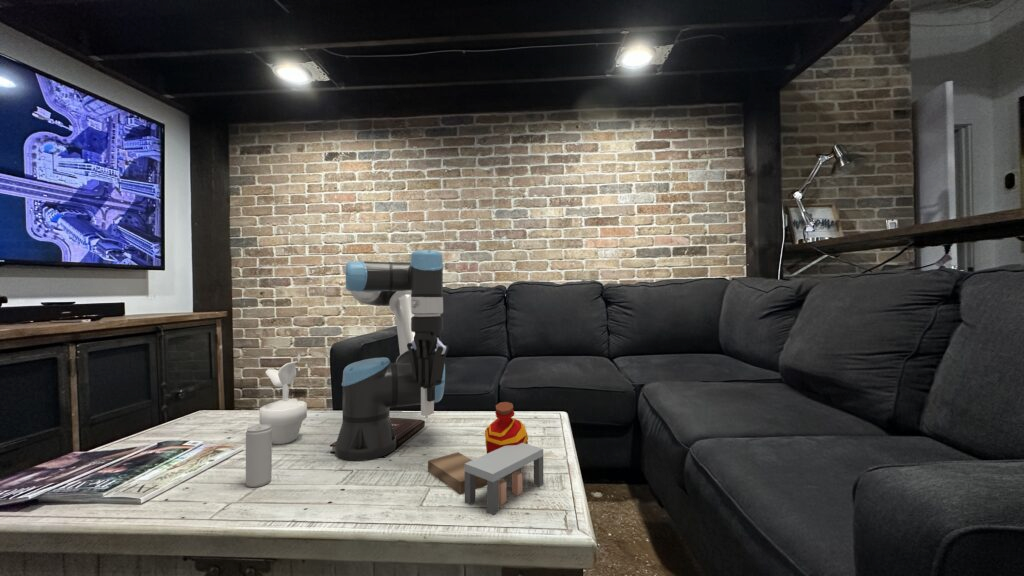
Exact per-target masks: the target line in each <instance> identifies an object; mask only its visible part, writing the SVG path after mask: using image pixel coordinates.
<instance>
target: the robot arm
mask: <svg viewBox="0 0 1024 576" xmlns="http://www.w3.org/2000/svg"><path fill="white" fill-rule="evenodd" d="M443 270H444V262H443V254H442V253H441V252H440V251H438V250H431V249H430V250H428V249H427V250H424V249H423V250H414V251H412V252H411V256H410V262H409V261H404V262H403V261H398V262H397V261H368V260H367V261H366V260H365V261H363V260H357V261H348V262H347V263H346V264H345V288H346V291H349V292H350V294H351V295H352V297H353V298H354V299H355V300H356V301H358V302H359V303H362V304H365V305H368V306H369V305H370V306H375V307H389V308H390V310H391V312H393V313H394V315H395V322H396V323H395V324H396V330H397V340H398V349H399V356H397V358H396V360H395V362H391V360H390V358H388V357H384V356H383V357H373V358H366V359H362V360H358V361H355V362H352V363H350V364H347V366H345V367H344V369H343V371H342V382H341V386H342V424H341V425H340V429H339V433H338V435H337V438H336V441H335V446H334V449H335V450H334V454H335V456H336V457H337V458H339V459H341V460H345V461H365V460H366V461H367V460H373V459H378V458H382V457H384V456H386V455H389V454H391V453H393V451H395V449H396V448H397V436H396V434H395V430H394V428H393V427H394V426H393V424H392V422H391V418H390V408H397V407H398V408H399V407H408V406H410V407H411V406H418V405H420V415H421V416H423V417H426V416H430V415H433V414H435V410H434V409H435V404H436V403H439V402H440V401H442V399H443V397H444V392H445V386H446V385H445V384H446V382H445V381H446V364H445V363H446V358H447V357H446V356H447V353H449V352H448V351H449V348H450V347H449V345H446V344H445V345H444V344H443V342H442V338H441V337H442V336H441V332H442V331H443V330H444V317H443V315H441V314H443V313H444V296H443V292H444V288H443V285H444V284H443V283H444V281H443V279H444V278H443V276H444V275H443V274H444V271H443Z"/></svg>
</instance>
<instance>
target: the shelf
mask: <svg viewBox="0 0 1024 576" xmlns="http://www.w3.org/2000/svg"><path fill="white" fill-rule="evenodd" d="M471 460H472V461H469V462H467V463H465V493H464V503H465V504H467V505H472V504H474V503H476V500H477V499H476V490H477V489H476V480H475V476H478V477H481V478H483V479H486V480H487V485H486V505H487V506H486V507H487V508H486V513H487V514H490V515H492V516H495V515H496V514H498V513H499V511H500V510H499V508H500V506H502V505H503V504H505V503H506V502H507V480H504V479H502V478H505V477H506V476H508V475H510V474H511V494H514V495H516V496H519V495H521V494H522V493H523V471H522V467H523V468H524V467H525V466H527V465H529V464H531V463H533V485H534V486H537V487H541V486H542V485H544V481H545V480H544V448H542V447H538V446H535V445H531V444H525V443H520V444H518V445H507V446H503V447H501V448H499V449H497V450H494V451H492V452H490V453H488V454H487V453H485V454H483V455H481V456H478V457H477V458H474V459H471Z"/></svg>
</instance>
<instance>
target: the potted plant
mask: <svg viewBox="0 0 1024 576" xmlns="http://www.w3.org/2000/svg"><path fill="white" fill-rule="evenodd" d="M295 358H296V359H297V360H295V361H292V362H287V363H285V364H284V365H282V366H281V367H280V368H279V369H274V368H267V369H266V371H265V373H264V374H266V376H267V377H268V379H269V380H270V381H271V383H272V384H273V386H275V387H277V388H281V387H282V388H281V389H282V390H281V391H282V397H281V399H280V398H279V399H278V400H276V401H273V402H271V403H270V402H269V403H267V404H264V405H262V406H261V407H259V416H258V417H259V418H258V419H259V425H260V424H269V425H271V429H272V445H286V444H289V443H292V442H293V441H295V440H296V439H297V438H298V435H299V434H300V430H301V428H302V424H303V422H304V421H305V420H306V419H307V417H308V413H307V412H308V409H307V408H308V407H307V406H308V403H307V402H305V401H304V400H298V398H289V395H290V393H289V392H290V387H289V386H288V385H291V384H292V383H293V382H294V381H295V379H296V376H297V374H298V373H297V371H300V370H302V369H301V368H300V367H298V368H297V369H296V364H297V363H298V364H300V360H301V359H302V358H303V357H302V356H301V354H300V352H298V355H296V356H295ZM304 367H305V369H307V368H308V367H309V365H308V364H307V362H306V364H305V365H304Z"/></svg>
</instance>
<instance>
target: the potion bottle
mask: <svg viewBox="0 0 1024 576" xmlns="http://www.w3.org/2000/svg"><path fill="white" fill-rule="evenodd" d="M495 409H496V410H495V417H496V419H495V420H493V421H492V422H491V423H490V424H489V425H488V427H485V430H484V437H485V439H484V440H485V442H484V443H485V446H486V447H485V448H486V450H485V451H486V454H488V453H490V452H492V451H494V450H497V449H499V448H501V447H503V446H507V445H518V444H520V443H525V444H528V442H529V435H528V432H527V429H526V426H525V424H524V423H523V422H522V421H521V420H519V419H516V418H513V417H514V416H515V411H514V405H513V403H512V402H508V401H502V402H499V403H498V404H496V405H495ZM528 445H529V444H528Z"/></svg>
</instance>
